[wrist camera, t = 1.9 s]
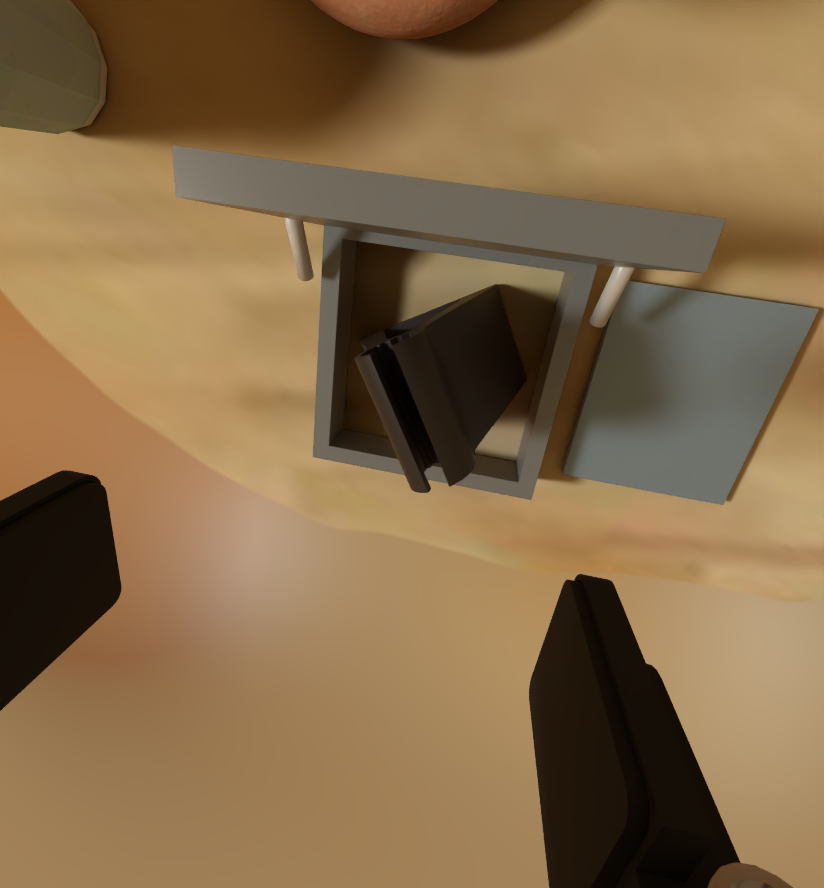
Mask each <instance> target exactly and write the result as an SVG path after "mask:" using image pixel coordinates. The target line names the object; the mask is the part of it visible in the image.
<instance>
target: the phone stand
mask: <svg viewBox="0 0 824 888" xmlns="http://www.w3.org/2000/svg"><path fill="white" fill-rule="evenodd" d="M358 341H359V343H360V346H361V348H362V350H363V352H362V353H360V354H359V355H357V356H356V357H355V358H354V360H355V362H356V364H357V367H358V369H359V371H360V373H361V376H362V378H363V380H364V383H365V385H366V387H367V389H368V392H369V394H370V396H371V398H372V401H373V403H374V405H375V408H376V410H377V412H378V414H379V417H380V419H381V421H382V424H383V426H384V428H385V430H386V433H387V435H388V437H389V439H390V442H391V444H392V446H393V449H394V451H395V453H396V455H397V458H398V460H399V462H400V465H401V467H402V469H403V471H404V474H405V476H406V478H407V480H408V483H409V485H410V487H411V489H412V490H413V491H415V492H419V493H428V492H429V491H430V489H431V487H430V485H429V483H428V480H427V478H426V476H425V473H424V472H425V471H426V469H427V468H431V466H432V465H433V464H436V463H440V465H441V468H442V470H443V473H444V475H445V478H446V480H447V482H448V485H449V486H452V485H454V484H456V483H458V482H459V481H461V480H463V479H464V478H465V477H467V476H468V475H469V474H470V473H471V472H472V471H473V469H474V467H475V460H474V452H475V449H476V448H477V446H478V445H479V443H480V442H481V441H482V439H483V438H484V437H485V435H486V434H487V433H488V431H489V430H490V429H491V427H492V426H493V425H494V423H495V422H496V421H497V419H498V418H499V417H500V415H501V414H502V413H503V411H504V410H505V409H506V408H507V406H508V405H509V404H510V402H511V401H512V400H513V398H514V397H515V396H516V394H517V393H518V392H519V390H520V389H521V388H522V386H523V385H524V384H525V382H526V381H527V379H526V376H525V372H524V369H523V366H522V363H521V360H520V357H519V354H518V350H517V347H516V344H515V341H514V338H513V335H512V331H511V328H510V325H509V322H508V319H507V316H506V313H505V309H504V306H503V303H502V300H501V297H500V294H499V290H498V287H497V284H495V285H492V286H490V287H487V288H485V289H483V290H480V291H478V292H475V293H473V294H470V295H468V296H465V297H463V298H460V299H458V300H455V301H453V302H450V303H448V304H445V305H443V306H440V307H438V308H435V309H433V310H430V311H428V312H426V313H423V314H421V315H418V316H416V317H413V318H411V319H408V320H406V321H403V322H401V323H398V324H396V325H393V326H391V327H388V328H386V329H383V330H381V331H378V332H376V333H373V334H371V335H368V336H366V337H364V338H361V339H359V340H358Z"/></svg>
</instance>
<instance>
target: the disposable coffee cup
mask: <svg viewBox="0 0 824 888" xmlns="http://www.w3.org/2000/svg"><path fill="white" fill-rule="evenodd" d="M106 84H107V65H106V62H105V59H104V56H103V53H102V50H101V47H100V44H99V41H98V38H97V35H96V32H95V31H94V30H93V28H92V27H91V26H90V25H89V23H88V21H87V20H86V18H85V17H84V16H83V15H82V14H81V12H80V11H79V10H78V9H77V8H76V6H75V5H74V4H73V3H72V2H71V0H0V126H2V127H9V128H16V129H24V130H31V131H39V132H46V133H54V134H60V133H63V132H66V131H71V130H75V129H78V128H81V127H84V126H88V125H91V124H92V122H93V121H94V119H95V117H96V116H97V114H98V113H99V111H100V110H101V108H102V106H103V105H104V103H105V100H106Z"/></svg>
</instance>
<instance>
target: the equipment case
mask: <svg viewBox="0 0 824 888" xmlns="http://www.w3.org/2000/svg"><path fill="white" fill-rule="evenodd" d="M172 151H173V165H174V179H175V193H176V197H180V198H185V199H190V200H195V201H200V202H205V203H211V204H216V205H221V206H226V207H231V208H237V209H242V210H247V211H252V212H257V213H263V214H268V215H273V216H278V217H283V218H284V219H285V223H286V227H287V232H288V236H289V240H290V244H291V248H292V253H293V257H294V261H295V265H296V269H297V274H298V278H299V279H300V280H302V281H309V280H311V279H312V278H313V276H314V275H313V270H312V265H311V260H310V255H309V250H308V245H307V240H306V235H305V231H304V226H303V221H304V222H309V223H314V224H320V225H324V238H323V259H322V279H321V300H320V321H319V342H318V362H317V383H316V404H315V424H314V445H313V457H316V458H321V459H326V460H331V461H336V462H341V463H346V464H351V465H356V466H361V467H366V468H372V469H377V470H382V471H387V472H392V473H397V474H402V475H405V474H404V471H403V469H402V467H401V465H400V462H399V460H398V458H397V455H396V453H395V451H394V449H393V446H392V444H391V442H390V439H389V438H387V437H382V436H377V435H372V434H366V433H361V432H356V431H350V430H345V429H343V423H344V410H345V397H346V384H347V371H348V358H349V345H350V332H351V319H352V306H353V293H354V280H355V267H356V254H357V241H362V242H368V243H375V244H382V245H389V246H395V247H402V248H409V249H416V250H422V251H429V252H436V253H443V254H450V255H456V256H463V257H470V258H477V259H483V260H490V261H497V262H504V263H510V264H517V265H524V266H531V267H537V268H544V269H551V270H558V271H564V272H565V273H564V277H563V280H562V284H561V288H560V292H559V296H558V300H557V304H556V308H555V312H554V316H553V319H552V323H551V327H550V331H549V335H548V339H547V343H546V347H545V351H544V355H543V358H542V362H541V366H540V370H539V374H538V378H537V382H536V386H535V390H534V394H533V397H532V401H531V405H530V409H529V413H528V417H527V421H526V425H525V429H524V433H523V436H522V440H521V444H520V448H519V452H518V456H517V460H516V462H514V461H509V460H503V459H498V458H493V457H488V456H482V455H477V454H474V460H475V467H474V469H473V471H472V472H471V473H470V474H469V475H468V476H467V477H465V478H464V479H463V480H461V481H459V482H458V483H456V484H454V485H458V486H463V487H468V488H473V489H478V490H483V491H488V492H494V493H499V494H504V495H509V496H514V497H519V498H524V499H529V500H531V499H532V495H533V492H534V488H535V485H536V481H537V478H538V474H539V471H540V467H541V463H542V460H543V456H544V453H545V449H546V446H547V442H548V439H549V435H550V432H551V428H552V425H553V421H554V418H555V414H556V410H557V407H558V403H559V400H560V396H561V393H562V389H563V386H564V382H565V379H566V375H567V372H568V368H569V365H570V361H571V357H572V354H573V350H574V347H575V343H576V340H577V336H578V333H579V329H580V326H581V322H582V319H583V315H584V312H585V308H586V304H587V301H588V297H589V294H590V290H591V287H592V283H593V280H594V276H595V273H596V269H597V266H598V265H602V266H615V267H614V269H613V271H612V273H611V275H610V277H609V280H608V282H607V284H606V286H605V288H604V290H603V292H602V294H601V297H600V299H599V301H598V303H597V305H596V307H595V309H594V311H593V313H592V316H591V318H590V323H591V325H593V326H594V327H598V328H601V327H604V326H605V325H606V323H607V321H608V319H609V317H610V315H611V313H612V311H613V309H614V307H615V306H616V304H617V302H618V300H619V298H620V296H621V294H622V292H623V290H624V288H625V286H626V284H627V282H628V280H629V279H630V277H631V275H632V273H633V271H634V269H635V268H643V269H656V270H670V271H684V272H697V273H706V271H707V268H708V266H709V263H710V260H711V258H712V255H713V253H714V250H715V247H716V245H717V242H718V239H719V237H720V234H721V231H722V229H723V226H724V223H725V221H726V219H724V218H716V217H709V216H701V215H694V214H686V213H678V212H671V211H663V210H656V209H648V208H641V207H633V206H626V205H618V204H611V203H603V202H595V201H588V200H580V199H573V198H565V197H558V196H550V195H543V194H535V193H528V192H520V191H512V190H505V189H497V188H490V187H482V186H475V185H467V184H460V183H452V182H445V181H437V180H429V179H422V178H414V177H407V176H399V175H392V174H384V173H377V172H369V171H362V170H354V169H346V168H339V167H331V166H324V165H316V164H309V163H301V162H294V161H286V160H279V159H271V158H264V157H256V156H248V155H241V154H233V153H226V152H218V151H211V150H203V149H196V148H188V147H181V146H173V145H172ZM424 473H425V476H426V478H427V480H433V481H438V482H443V483H448V482H447V480H446V478H445V475H444V473H443V470H442V468H441V465H440V463H436V464H433V465H432V466H431V468H427V469H426V471H425V472H424Z"/></svg>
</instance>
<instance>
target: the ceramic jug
mask: <svg viewBox="0 0 824 888" xmlns="http://www.w3.org/2000/svg"><path fill="white" fill-rule="evenodd" d="M310 1H311V2H312V3H314V4H315V5H316V6H317V7H318V8H319V9H321V10H322V11H323V12H325V13H326V14H328V15H329V16H331V17H332V18H334V19H335V20H337V21H339V22H341V23H342V24H344V25H346V26H348V27H350V28H352V29H354V30H357V31H359V32H362V33H366V34H369V35H373V36H377V37H384V38H391V39H417V38H423V37H429V36H434V35H438V34H441V33H444V32H448V31H450V30H452V29H455V28H457V27H459V26H461V25H463V24H465V23H467V22H469V21H470V20H472V19H474V18H475V17H477V16H478V15H480V14H481V13H483V12H484V11H485V10H487V9H488V8H489V7H491V6H492V5H493V4H494V3H495V2H497V1H498V0H310Z"/></svg>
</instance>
